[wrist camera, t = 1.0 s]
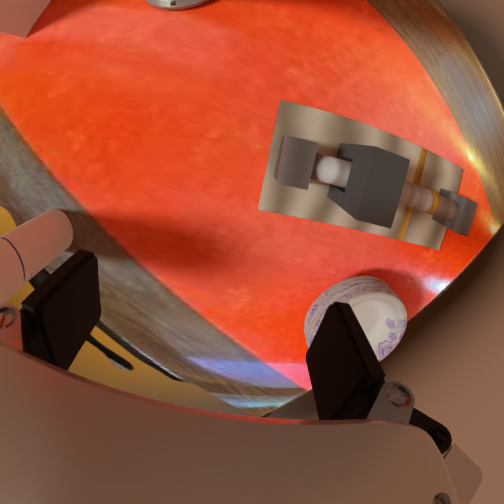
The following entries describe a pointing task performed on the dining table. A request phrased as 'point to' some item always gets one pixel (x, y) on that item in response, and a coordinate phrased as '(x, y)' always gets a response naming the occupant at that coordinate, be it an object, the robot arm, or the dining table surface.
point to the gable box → (20, 16)
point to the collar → (370, 183)
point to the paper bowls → (364, 311)
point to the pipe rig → (337, 172)
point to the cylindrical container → (32, 249)
